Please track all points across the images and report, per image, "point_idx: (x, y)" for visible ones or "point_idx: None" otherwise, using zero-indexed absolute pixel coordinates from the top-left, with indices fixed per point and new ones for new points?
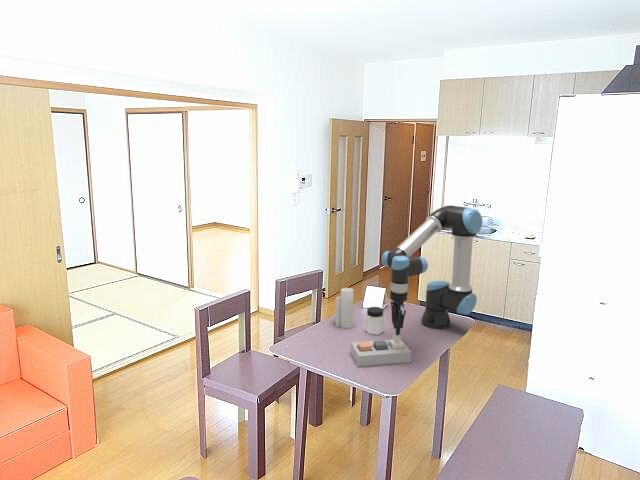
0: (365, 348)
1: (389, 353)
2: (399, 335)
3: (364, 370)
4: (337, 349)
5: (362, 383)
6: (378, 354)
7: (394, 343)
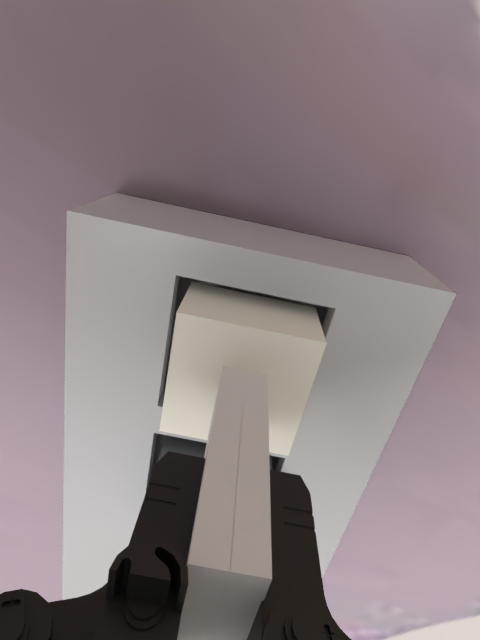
0: None
1: (359, 491)
2: (265, 439)
3: (338, 563)
4: (38, 568)
5: (452, 618)
6: (328, 559)
7: (270, 431)
